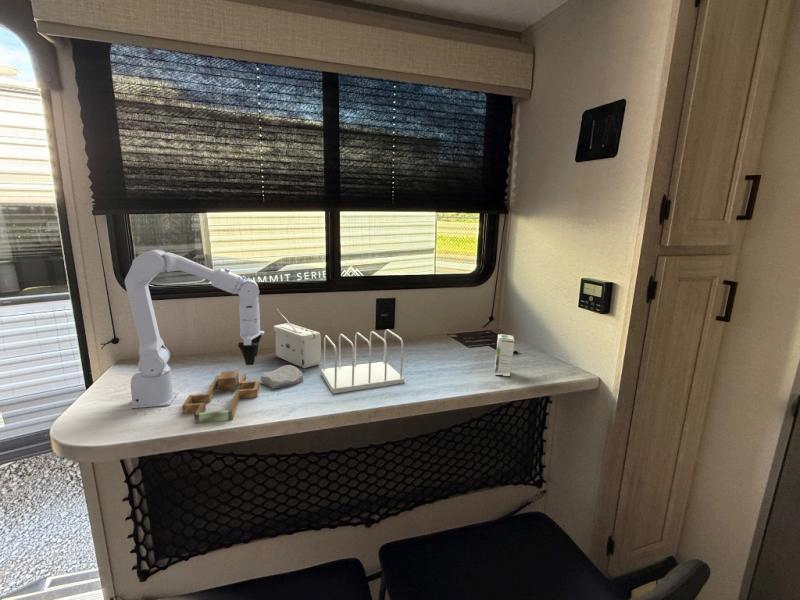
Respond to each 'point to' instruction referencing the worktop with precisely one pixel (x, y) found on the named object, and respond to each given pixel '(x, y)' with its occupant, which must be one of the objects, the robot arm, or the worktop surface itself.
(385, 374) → the file sorter
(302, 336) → the stereo radio cassette player
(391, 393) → the worktop surface
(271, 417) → the worktop surface
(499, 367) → the syrup box
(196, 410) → the trap lane
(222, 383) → the walnut block
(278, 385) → the stone block
